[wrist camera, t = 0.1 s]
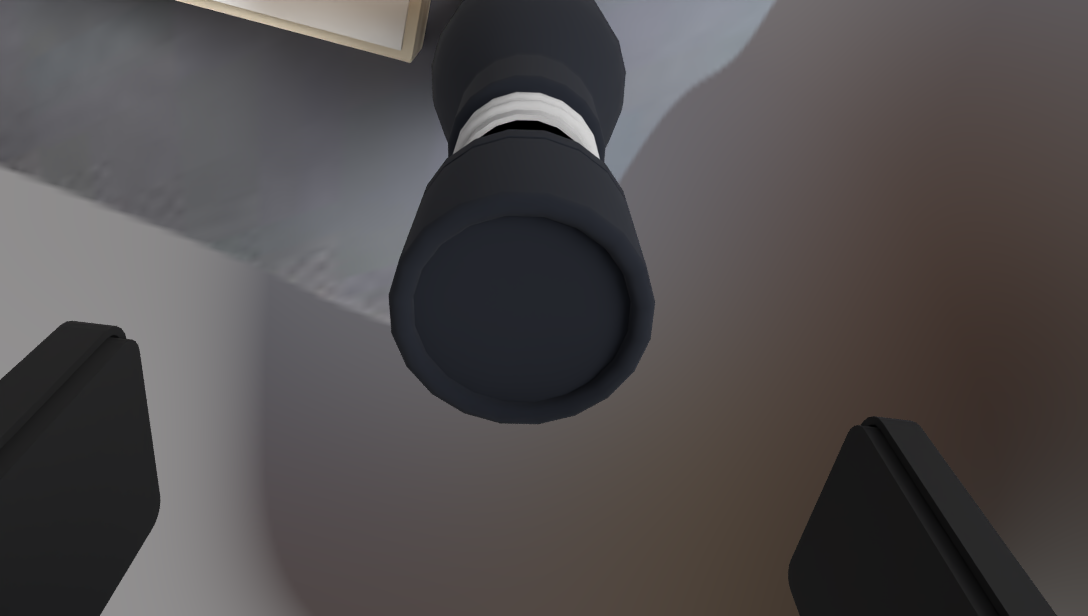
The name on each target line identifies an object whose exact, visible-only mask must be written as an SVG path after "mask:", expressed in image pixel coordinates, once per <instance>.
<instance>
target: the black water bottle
mask: <svg viewBox="0 0 1088 616" xmlns="http://www.w3.org/2000/svg"><path fill="white" fill-rule="evenodd" d="M625 75H626V71H625V67H624V62H623V58H622V53H621V49H620V44H619V41H618V39H617V37H616V36H615V34H614V32H613V31H612V29H611V27H610V26H609V24H608V22H607V20H606V19H605V17H604V15H603V14H602V12H601V10H600V9H599V7H598V6H597V4H596V2H595V1H594V0H464V1H463V2H462V4H461V5H460V6H459V8H458V9H457V11H456V12H455V14H454V15H453V17H452V18H451V20H450V21H449V23H448V24H447V26H446V27H445V28H444V30H443V31H442V33H441V34H440V37H439V41H438V44H437V48H436V52H435V55H434V59H433V62H432V89H433V101H434V106H435V109H436V112H437V115H438V117H439V120H440V123H441V126H442V129H443V131H444V134H445V137H446V139H447V142H448V158H447V159H446V160H445V162H444V163H443V164H442V166H441V167H440V168H439V170H438V171H437V172H436V174H435V175H434V177H433V178H432V179H431V181H430V182H429V183H428V185H427V187H426V190H425V192H424V195H423V198H422V200H421V203H420V206H419V208H418V211H417V213H416V216H415V219H414V221H413V224H412V227H411V229H410V232H409V235H408V237H407V240H406V243H405V245H404V248H403V251H402V253H401V256H400V259H399V262H398V265H397V269H396V272H395V276H394V279H393V282H392V286H391V289H390V292H389V306H390V319H391V333H392V335H393V337H394V340H395V342H396V344H397V346H398V348H399V351H400V353H401V355H402V357H403V359H404V362H405V364H406V366H407V367H408V368H409V369H410V371H412V373H413V374H414V375H415V376H416V377H417V378H418V379H419V380H420V381H421V382H422V384H423V385H424V386H425V387H426V388H427V389H428V390H429V391H430V392H431V393H432V394H433V395H435V396H436V397H438V398H440V399H441V400H443V401H445V402H446V403H448V404H450V405H451V406H453V407H455V408H457V409H458V410H460V411H462V412H463V413H465V414H469V415H473V416H477V417H480V418H483V419H487V420H490V421H494V422H498V423H508V424H512V423H513V424H541V423H545V422H549V421H554V420H558V419H562V418H567V417H571V416H575V415H577V414H579V413H580V412H582V411H584V410H586V409H588V408H590V407H592V406H593V405H595V404H597V403H599V402H601V401H603V400H605V399H606V398H608V397H609V396H610V395H611V394H612V393H613V392H614V391H615V390H616V389H617V388H618V387H619V386H620V385H621V384H622V383H623V382H624V381H625V380H626V379H627V378H628V377H629V376H630V375H631V374H632V373H633V372H634V371H635V369H636V367H637V365H638V363H639V361H640V359H641V357H642V355H643V353H644V351H645V349H646V347H647V345H648V343H649V341H650V339H651V330H652V322H653V314H654V306H655V300H654V296H653V292H652V287H651V283H650V279H649V275H648V271H647V267H646V263H645V260H644V257H643V254H642V250H641V247H640V244H639V241H638V237H637V234H636V231H635V228H634V224H633V221H632V218H631V215H630V211H629V208H628V205H627V202H626V198H625V195H624V192H623V190H622V188H621V187H620V185H619V184H618V182H617V181H616V179H615V178H614V176H613V175H612V173H611V172H610V170H609V169H608V167H607V165H606V164H605V163H604V157H605V148H606V146H607V144H608V142H609V140H610V137H611V135H612V132H613V130H614V128H615V125H616V123H617V120H618V118H619V115H620V113H621V110H622V105H623V98H624V86H625Z"/></svg>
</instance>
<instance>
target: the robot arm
mask: <svg viewBox="0 0 1088 616" xmlns="http://www.w3.org/2000/svg"><path fill="white" fill-rule="evenodd" d="M159 509H160V492H159V485H158V478H157V471H156V463H155V456H154V449H153V442H152V435H151V428H150V422H149V414H148V407H147V400H146V393H145V385H144V379H143V371H142V365H141V357H140V351H139V347H138V344H137V343H136V341H134V340H130V339H126V336H125V333H124V332H123V330H122V329H121V328H119V327H117V326H111V325H102V324H94V323H85V322H77V321H69V322H65V323H63V324H62V325H60V326H59V327H58V328H57V329H56V330H55V331H54V332H52V333H51V334H50V335H49V336H48V337H47V338H46V339H45V340H44V341H43V342H41V343H40V344H39V345H38V346H37V347H36V348H35V349H34V350H33V351H32V352H30V353H29V354H28V355H27V356H26V357H25V358H24V359H23V360H22V361H21V362H19V363H18V364H17V365H16V366H15V367H14V368H13V369H12V370H11V371H10V372H8V373H7V374H6V375H5V376H4V377H3V378H2V379H1V380H0V616H100V614H101V613H102V611H103V609H104V608H105V606H106V604H107V603H108V601H109V600H110V598H111V596H112V594H113V593H114V591H115V590H116V587H117V586H118V585H119V583H120V581H121V580H122V578H123V576H124V575H125V573H126V571H127V570H128V568H129V566H130V565H131V563H132V561H133V560H134V558H135V556H136V555H137V553H138V551H139V550H140V548H141V546H142V545H143V543H144V541H145V540H146V538H147V536H148V535H149V533H150V532H151V530H152V528H153V526H154V524H155V522H156V519H157V517H158V513H159ZM788 579H789V586H790V589H791V592H792V595H793V598H794V601H795V604H796V606H797V609H798V612H799V615H800V616H1057V615H1056V614H1055V612H1054V611H1053V610H1052V608H1051V607H1050V605H1049V604H1048V603H1047V601H1046V600H1045V599H1044V597H1043V596H1042V594H1041V593H1040V592H1039V590H1038V589H1037V587H1036V586H1035V585H1034V583H1033V582H1032V580H1031V579H1030V578H1029V576H1028V575H1027V574H1026V572H1025V571H1024V569H1023V568H1022V567H1021V565H1020V564H1019V562H1018V561H1017V560H1016V558H1015V557H1014V556H1013V554H1012V553H1011V551H1010V550H1009V549H1008V547H1007V546H1006V544H1005V543H1004V542H1003V540H1002V539H1001V537H1000V536H999V535H998V533H997V532H996V531H995V529H994V528H993V526H992V525H991V524H990V523H989V521H988V519H987V518H986V517H985V516H984V514H983V512H982V511H981V510H980V508H979V507H978V506H977V504H976V503H975V502H974V500H973V499H972V497H971V496H970V495H969V493H968V492H967V490H966V489H965V488H964V486H963V485H962V483H961V482H960V481H959V479H958V478H957V476H956V475H955V474H954V472H953V471H952V470H951V468H950V467H949V466H948V464H947V463H946V461H945V460H944V458H943V457H942V456H941V454H940V453H939V452H938V450H937V449H936V447H935V446H934V445H933V443H932V442H931V440H930V439H929V438H928V436H927V435H926V433H925V432H924V431H923V429H922V428H921V427H920V426H919V425H918V424H917V423H916V422H913V421H908V420H899V419H891V418H883V417H875V416H873V417H868V418H867V419H866V420H864V421H863V423H862V424H861V426H860V425H857V426H854V427H852V428H851V429H850V431H849V432H848V434H847V436H846V439H845V441H844V443H843V445H842V447H841V450H840V452H839V454H838V456H837V459H836V461H835V463H834V465H833V467H832V470H831V472H830V474H829V476H828V479H827V481H826V483H825V485H824V488H823V490H822V492H821V494H820V497H819V499H818V501H817V503H816V505H815V507H814V510H813V512H812V514H811V516H810V519H809V521H808V523H807V526H806V528H805V530H804V532H803V534H802V537H801V539H800V541H799V543H798V545H797V548H796V550H795V552H794V554H793V556H792V559H791V561H790V564H789V571H788Z"/></svg>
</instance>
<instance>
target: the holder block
mask: <svg viewBox="0 0 1088 616" xmlns="http://www.w3.org/2000/svg"><path fill="white" fill-rule="evenodd" d="M177 1H180V2H184V3H188V4H192V5H195V6H199V7H203V8H207V9H210V10H214V11H218V12H222V13H225V14H229V15H233V16H237V17H240V18H244V19H248V20H252V21H255V22H259V23H263V24H266V25H270V26H274V27H278V28H281V29H285V30H289V31H293V32H296V33H300V34H304V35H308V36H311V37H315V38H319V39H323V40H326V41H330V42H334V43H338V44H341V45H345V46H349V47H353V48H356V49H360V50H364V51H368V52H371V53H375V54H379V55H383V56H386V57H390V58H394V59H398V60H401V61H405V62H409V63H411V62H412V61H413V60H414V58H415V57H416V56H417V54H418V53H419V52H420V50H421V49H422V47H423V42H424V36H425V30H426V25H427V19H428V14H429V8H430V2H431V0H177Z"/></svg>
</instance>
